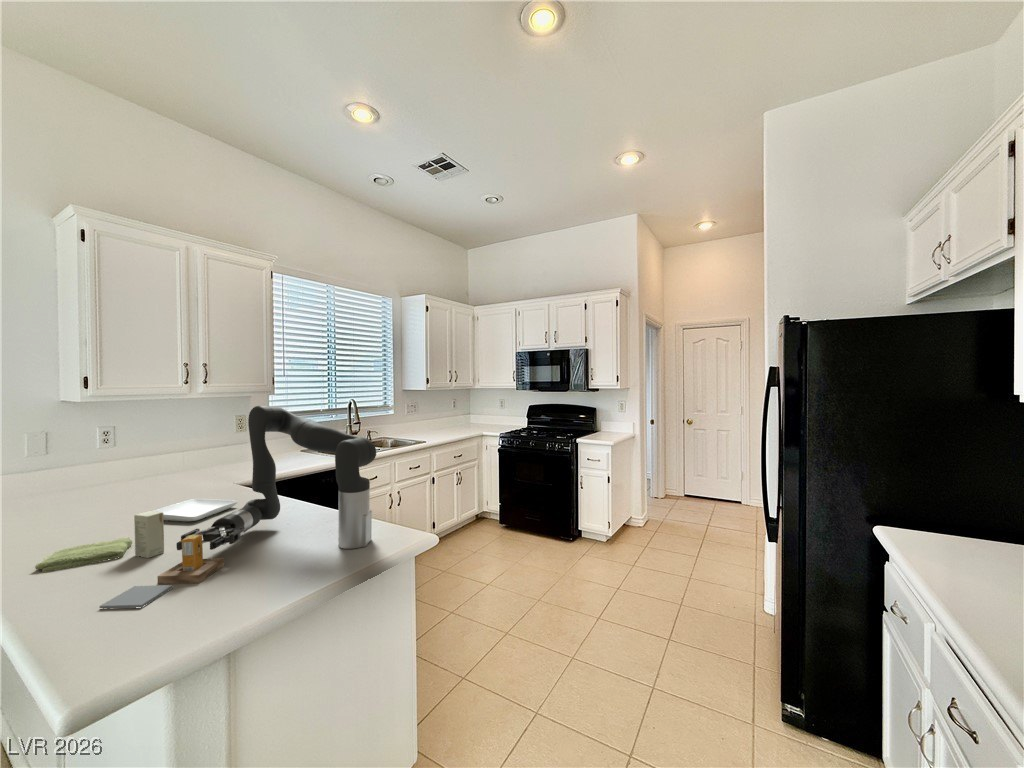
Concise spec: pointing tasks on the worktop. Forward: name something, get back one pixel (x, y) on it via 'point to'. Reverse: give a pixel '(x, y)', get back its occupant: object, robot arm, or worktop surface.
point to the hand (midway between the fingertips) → (194, 546)
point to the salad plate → (195, 509)
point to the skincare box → (149, 534)
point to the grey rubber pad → (136, 596)
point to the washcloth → (85, 554)
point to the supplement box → (192, 553)
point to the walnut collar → (191, 572)
